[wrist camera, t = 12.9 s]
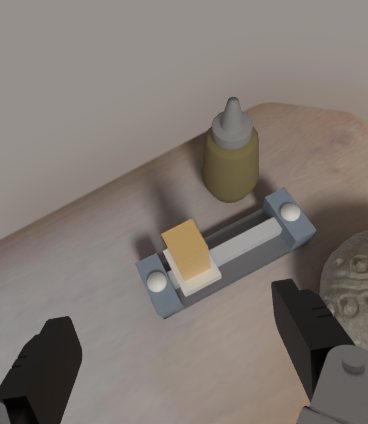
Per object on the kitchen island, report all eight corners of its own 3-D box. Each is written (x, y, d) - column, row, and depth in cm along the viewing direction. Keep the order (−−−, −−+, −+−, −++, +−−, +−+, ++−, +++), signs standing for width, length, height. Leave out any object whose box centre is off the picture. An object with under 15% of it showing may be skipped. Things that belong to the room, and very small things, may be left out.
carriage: (187, 299, 41) (174, 278, 30) (167, 259, 43) (149, 227, 32) (221, 281, 41) (221, 254, 30) (199, 242, 44) (192, 205, 33)
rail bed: (164, 319, 42) (157, 314, 37) (144, 272, 45) (134, 262, 40) (306, 243, 44) (317, 228, 39) (278, 203, 47) (284, 185, 42)
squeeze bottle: (254, 212, 47) (271, 135, 30) (199, 207, 48) (188, 130, 32) (258, 166, 50) (275, 73, 34) (207, 162, 51) (199, 71, 35)
